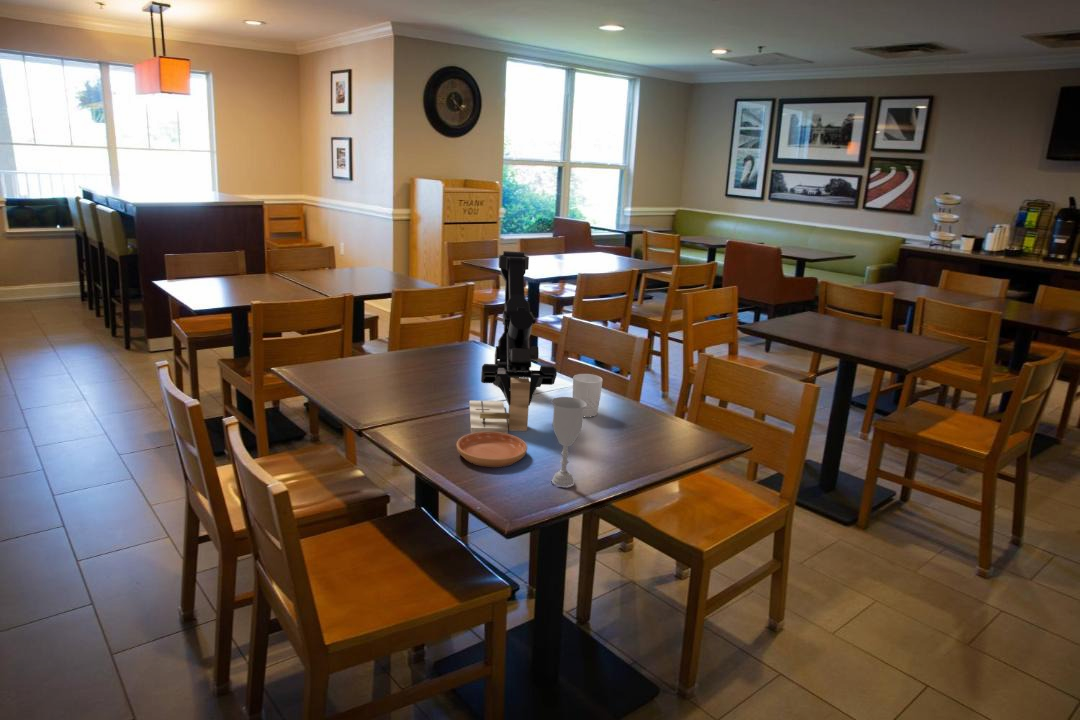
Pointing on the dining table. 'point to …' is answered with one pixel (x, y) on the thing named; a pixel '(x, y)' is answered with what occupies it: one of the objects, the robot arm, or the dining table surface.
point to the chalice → (566, 431)
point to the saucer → (491, 448)
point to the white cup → (588, 392)
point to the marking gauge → (515, 406)
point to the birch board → (487, 424)
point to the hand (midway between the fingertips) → (519, 404)
